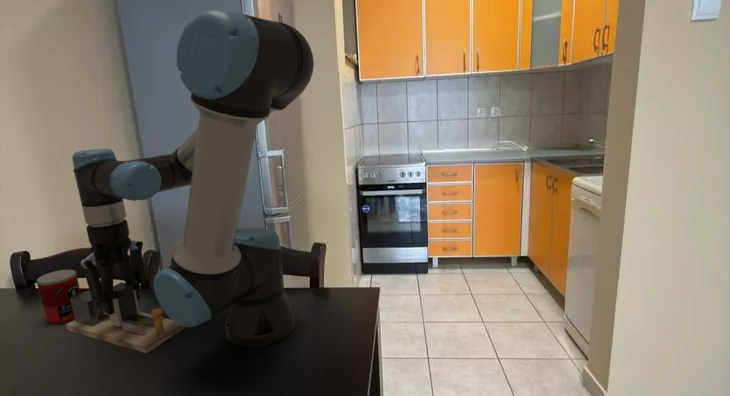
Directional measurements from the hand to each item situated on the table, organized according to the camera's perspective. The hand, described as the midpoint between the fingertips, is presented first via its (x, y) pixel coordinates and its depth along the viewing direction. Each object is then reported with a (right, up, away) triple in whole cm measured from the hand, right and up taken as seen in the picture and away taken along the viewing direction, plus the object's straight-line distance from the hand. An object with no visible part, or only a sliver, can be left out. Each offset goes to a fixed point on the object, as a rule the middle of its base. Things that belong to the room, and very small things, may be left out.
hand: (125, 319), depth 92 cm
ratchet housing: (-9, -1, +4) cm, 10 cm away
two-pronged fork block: (-1, -1, +1) cm, 2 cm away
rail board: (0, -3, +1) cm, 3 cm away
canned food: (-19, -2, +8) cm, 21 cm away
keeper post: (+10, -2, -4) cm, 11 cm away
